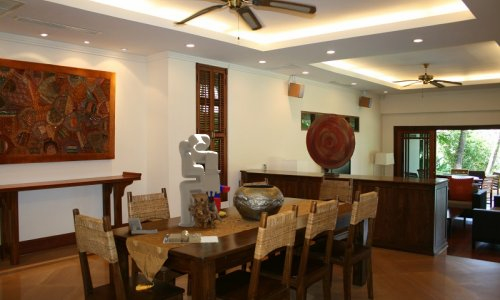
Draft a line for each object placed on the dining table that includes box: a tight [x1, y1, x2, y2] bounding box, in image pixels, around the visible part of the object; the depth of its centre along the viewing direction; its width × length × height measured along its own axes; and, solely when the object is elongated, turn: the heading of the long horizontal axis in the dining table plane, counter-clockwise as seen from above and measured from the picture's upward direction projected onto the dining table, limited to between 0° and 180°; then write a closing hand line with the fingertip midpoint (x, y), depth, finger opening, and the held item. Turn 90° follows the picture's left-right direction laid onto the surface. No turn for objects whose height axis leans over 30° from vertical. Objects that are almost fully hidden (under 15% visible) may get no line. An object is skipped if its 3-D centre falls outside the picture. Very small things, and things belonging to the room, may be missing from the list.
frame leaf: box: [168, 229, 190, 244], centre depth 251 cm, size 12×11×4 cm
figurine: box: [199, 184, 231, 218], centre depth 338 cm, size 22×22×30 cm
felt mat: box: [162, 235, 219, 244], centre depth 252 cm, size 15×32×1 cm, turn 97°
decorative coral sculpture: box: [188, 197, 224, 229], centre depth 297 cm, size 26×23×30 cm
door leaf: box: [183, 231, 202, 242], centre depth 252 cm, size 12×11×4 cm
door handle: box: [127, 217, 158, 236], centre depth 270 cm, size 18×8×20 cm
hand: (211, 202), depth 254 cm, fingers closed
